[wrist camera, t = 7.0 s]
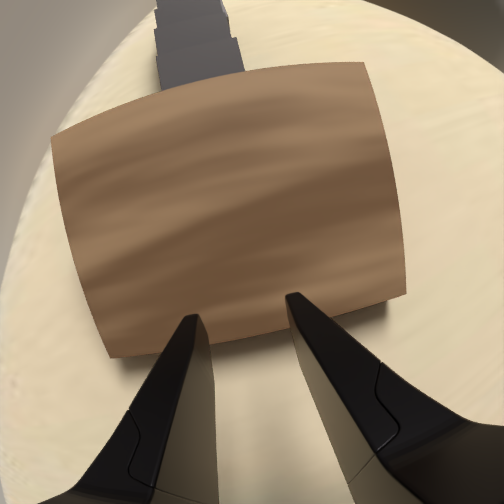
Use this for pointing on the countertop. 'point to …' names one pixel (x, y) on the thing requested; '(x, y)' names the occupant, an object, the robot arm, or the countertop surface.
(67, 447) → the countertop surface
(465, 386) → the countertop surface
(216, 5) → the domino
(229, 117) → the board
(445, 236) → the countertop surface
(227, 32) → the domino
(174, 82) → the domino
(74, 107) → the countertop surface
